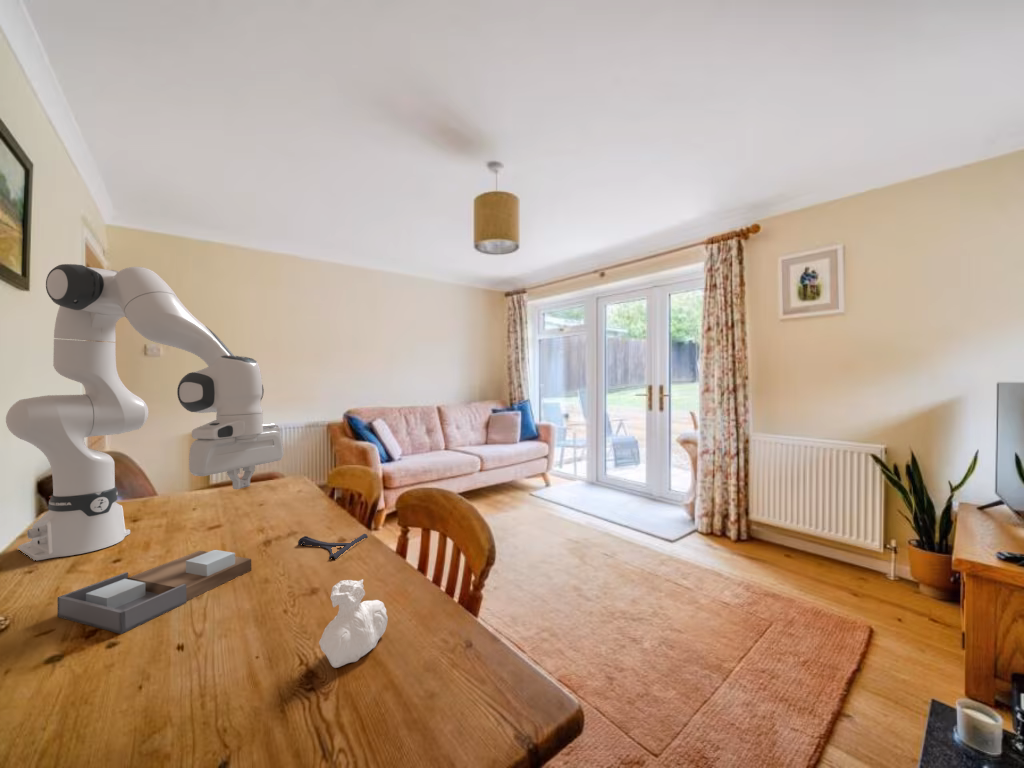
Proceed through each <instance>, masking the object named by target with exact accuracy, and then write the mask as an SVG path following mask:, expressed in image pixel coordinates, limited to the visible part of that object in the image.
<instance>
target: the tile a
mask: <svg viewBox="0 0 1024 768" xmlns="http://www.w3.org/2000/svg"><path fill="white" fill-rule="evenodd" d="M145 595H146V590H145V583H143V582H139V581H134V580H129V579H123V580H120V581H117V582H115V583H112V584H109V585H107V586H104V587H102V588H99V589H96V590H94V591H91V592H88V593H86V602H90V603H94V604H98V605H102V606H107V607H111V608H117V607H119V606H122V605H124V604H126V603H129V602H131V601H133V600H136V599H138V598H140V597H143V596H145Z"/></svg>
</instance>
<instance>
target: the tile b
mask: <svg viewBox="0 0 1024 768" xmlns="http://www.w3.org/2000/svg"><path fill="white" fill-rule="evenodd" d="M207 552H208V553H205V554H202V555H200V556H197V557H195V558H192V559H190V560H187V561H186V573H191V574H196V575H201V576H209V575H212V574H214V573H216V572H218V571H221V570H223V569H225V568H227V567H230V566H232V565H234V564H235V556H236V553H235V552H233V551H232V552H231V551H226V550H220V549H219V550H218V549H213V550H210V551H207Z"/></svg>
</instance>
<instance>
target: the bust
mask: <svg viewBox="0 0 1024 768" xmlns="http://www.w3.org/2000/svg"><path fill="white" fill-rule="evenodd" d="M363 583H364V579H360V580H352V579H346V580H345V579H344V580H342V579H341V580H339V582H337V583H336V584H334V585H333V586H332V588H331V594H330V597H329V598H330V600H331V603H332V608H335V607H337V606H338V612H337V615H335V616H334V618H333V619H332V620H331V621H330V622H329V623H328V624H327V625H326V627H325V628H324V630H323V633H322V634H321V638H320V639H319V641H318V644H319V646H320V649H321V651H322V652H323V653H324V654H325V656H326V658H327V660H328V662H329V664H330V666H332V667H333V668H334V669H336V668H340V667H342V666H345V665H347V664H350V663H356V662H359V660H360V659H361V658H362V657H364V656H366V655H367V654H368V653H369V652H370V651H372V650H373V649H375V648H376V646H377V645H378V641H379V640H380V639H381V638H382V636H383V635H384V634H385V632H386V629H387V625H388V619H389V618H388V615H387V608H386V607H385V603H384V602H383V601H380V600H379V599H373V600H364V601H362V599H363V598H364V596H366V591H365V589H364V586H365V585H364V584H363Z"/></svg>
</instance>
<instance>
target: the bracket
mask: <svg viewBox="0 0 1024 768" xmlns="http://www.w3.org/2000/svg"><path fill="white" fill-rule="evenodd" d="M364 538H366V539H368V535H367V533H363V534H362V535H360V536H358V537H357V539H356V538H354V539H355V540H354V541H352V542H351V543H335V542H328V541H327V542H326V541H321V540H318V539H315V538H311V537H309V536H308V535H304V536H303V537H300V538H299V540H298V541H297V545H298V546H299V545H301V544H303V543H304V544H303V545H312V546H311V547H313V546H320V547H319V548H322V547H323V548H322V549H325V548H326V549H325V550H327V549H328V550H327V551H328V552H329V551H330V552H329V553H331V554H330V555H329V557H328V558H329V559H331V558H333V557H334V558H333V559H337V558H338V557H339V556H340V555H341V554H343V553H344V552H345V551H346V550H348V549H349V548H350V547H351V546H353V545H354V544H355V543H357V542H359V541H361V540H362V539H364ZM336 546H344V547H343V548H339V549H338V550H339V551H337V552H336V553H334V554H333V553H332V549H331V548H332V547H336ZM339 558H340V557H339ZM339 558H338V559H339ZM338 559H337V560H338ZM331 560H332V559H331Z"/></svg>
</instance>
